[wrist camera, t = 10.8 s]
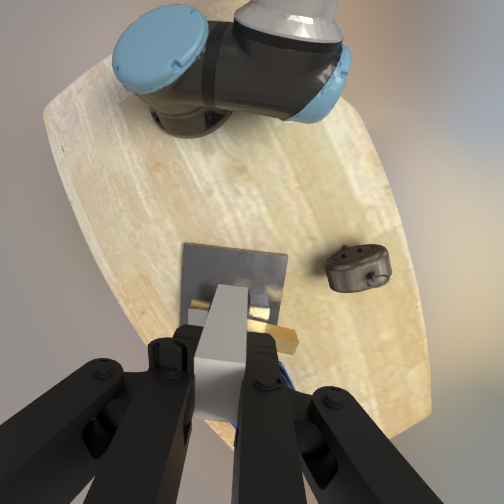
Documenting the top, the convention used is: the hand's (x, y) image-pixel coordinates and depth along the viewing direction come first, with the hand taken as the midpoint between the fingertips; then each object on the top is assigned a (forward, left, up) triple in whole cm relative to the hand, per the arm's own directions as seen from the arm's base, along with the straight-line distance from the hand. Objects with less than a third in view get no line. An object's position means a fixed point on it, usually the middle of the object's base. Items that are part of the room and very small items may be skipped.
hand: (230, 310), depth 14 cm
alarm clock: (+3, +19, -35) cm, 40 cm away
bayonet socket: (+14, -1, -34) cm, 37 cm away
